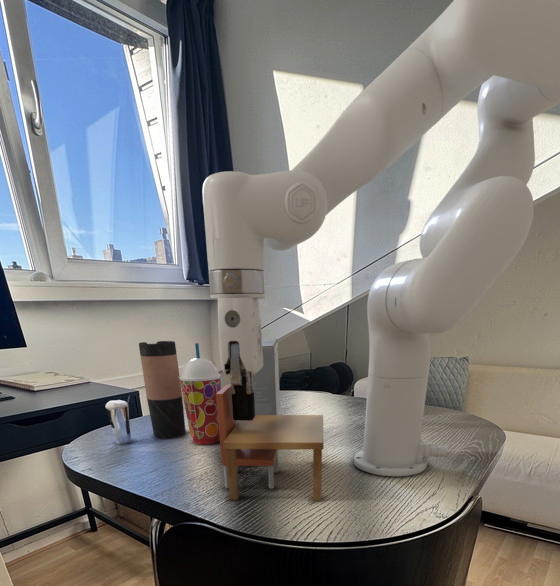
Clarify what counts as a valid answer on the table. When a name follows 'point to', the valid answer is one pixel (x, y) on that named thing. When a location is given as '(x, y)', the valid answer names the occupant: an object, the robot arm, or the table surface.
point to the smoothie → (201, 398)
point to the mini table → (276, 442)
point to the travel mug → (163, 388)
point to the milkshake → (119, 420)
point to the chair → (242, 455)
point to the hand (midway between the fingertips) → (244, 418)
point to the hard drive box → (267, 381)
